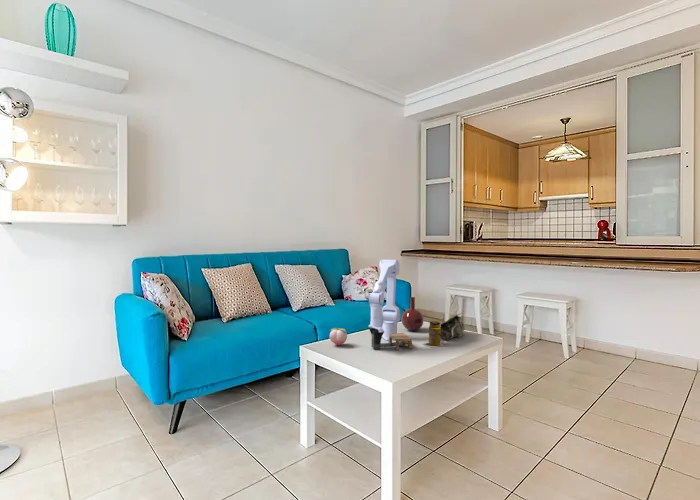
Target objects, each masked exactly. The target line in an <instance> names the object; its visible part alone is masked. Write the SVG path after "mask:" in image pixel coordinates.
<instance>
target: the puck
mask: <svg viewBox="0 0 700 500" xmlns="http://www.w3.org/2000/svg"><path fill="white" fill-rule="evenodd" d="M402 348H405V349H408V341H403V346H402Z"/></svg>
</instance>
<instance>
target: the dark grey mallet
mask: <svg viewBox="0 0 700 500" xmlns="http://www.w3.org/2000/svg"><path fill="white" fill-rule="evenodd" d="M388 347H389V348H391V347H393V348H394V347H396V341H395V342H394V341H392V343H389V342H380V344H378V345H376V344H375V337H374V334H373V333H372V335H371V348H372V349H374V350H376V349H381V348H388ZM399 347H403V342H399Z"/></svg>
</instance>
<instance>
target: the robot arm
mask: <svg viewBox="0 0 700 500" xmlns="http://www.w3.org/2000/svg"><path fill="white" fill-rule="evenodd" d="M379 270H380V274H379V277H378V280H376V282H375V284H374V287H373V290H372V292H371V293H370V294H369V296H368V302H369V307H370V322H369V323H370V324H369V325H368V327H369V328H368V329H369V332H370V335H371V336H372V333H373V334H374V337H375V344H376V345H378V344H380V342H381V341H382V339H384V340H385V341H389V334H398V323H399V322H400V321H401V311H400V308H399V307H398V306H397V305H396V289H397V288H396V287H397V286H396V285H397V284H396V283H397V276H398V275H399V274H400V262H399V260H398V259H384V258H382V259H380V261H379ZM385 292H386V300H385ZM385 301H386V302H385ZM384 302H385V305H384V306H383V304H384ZM392 341H394V340H393V339H392ZM381 343H382V342H381Z"/></svg>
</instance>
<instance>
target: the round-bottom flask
mask: <svg viewBox="0 0 700 500" xmlns="http://www.w3.org/2000/svg"><path fill="white" fill-rule="evenodd" d="M409 298H410V299H409V300H410V303H409V304H410V305H409V306H410V307H409V308H408V309H406V310H405V311H404V312H403V313H402V315H401V324H402V326H403V327H404V328H405V329H406V330H407V331H410V332H416V331H418V330H420V329H421V328H422V327H423V325H424V322H425V321H424V320H425V319H424V316H423V314H422V312H421V311H420V310H418V309H417V308H416V302H415V300H416V297H414V296H413V297H412V296H411V297H409Z"/></svg>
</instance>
